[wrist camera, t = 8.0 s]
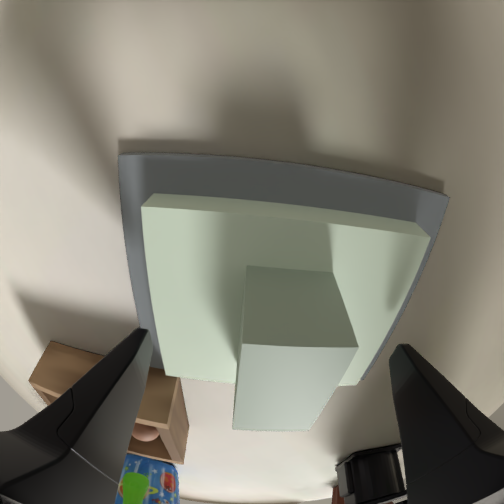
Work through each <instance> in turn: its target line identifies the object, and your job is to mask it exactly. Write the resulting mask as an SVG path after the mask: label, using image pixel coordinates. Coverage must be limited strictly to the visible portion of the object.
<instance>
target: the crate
mask: <svg viewBox="0 0 504 504" xmlns="http://www.w3.org/2000/svg"><path fill="white" fill-rule="evenodd" d="M103 357H105V356H102V355H98V354H94V353H90V352H87V351H83V350H79V349H76V348H72V347H69V346H66V345H62V344H59V343H56V342H53V341H50V343H49V345H48V346H47V348H46V350H45V352H44V353H43V355H42V357H41V358H40V360H39V362H38V364H37V366H36V367H35V369H34V371H33V373H32V375H31V377H30V378H29V380H28V381H29V382H30V384H31V385H32V386H33V388H34V389H35V390H36V391H37V393H38V394H39V395H40V396H41V398H42V399H43V400H44V401H45V403H46V404H47V405H48V406H49V405H50V404H51V403H53V402H54V401H55V400H56V399H57V398H59V397H60V396H61V395H62V394H63V393H64V392H65V391H67V390H68V389H69V388H70V387H71V388H72V385H73V384H74V383H75V382H77V381H78V380H79V379H80V378H81V377H82V376H83V375H84V374H86V373H87V372H88V371H89V370H90V369H91V368H92V367H93V366H94V365H96V364H97V363H98V362H99V361H100V360H101V359H102V358H103ZM188 430H189V423H188V418H187V413H186V408H185V403H184V397H183V392H182V386H181V381H180V377H174V376H168V375H166V373H165V369H159V368H154V367H150V366H149V371H148V376H147V382H146V387H145V391H144V394H143V398H142V401H141V404H140V407H139V411H138V414H137V418H136V421H135V425H134V428H133V432H132V435H131V439H130V442H129V446H128V450H127V452H128V453H131V454H135V455H139V456H143V457H148V458H152V459H156V460H161V461H166V462H171V463H177V464H184V457H185V450H186V443H187V437H188Z"/></svg>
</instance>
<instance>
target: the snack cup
mask: <svg viewBox="0 0 504 504" xmlns="http://www.w3.org/2000/svg"><path fill="white" fill-rule="evenodd" d="M118 485H119V486H118V490H117V495H116V499H115V504H180V500H179V481H178V472H177V470H176V469H175V468H174V467H173V466H172V465H169V464H167V463H164V462H162V461H158V460H156V459H152V458H148V457H143V456H139V455H135V454H126V457H125V461H124V465H123V469H122V473H121V477H120V481H119V484H118Z"/></svg>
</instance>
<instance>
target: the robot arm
mask: <svg viewBox="0 0 504 504" xmlns="http://www.w3.org/2000/svg"><path fill="white" fill-rule="evenodd" d="M152 351H153V344H152V339H151V335H150V331H149V330H148V329H144V328H137V329H135V330H134V331H133V332H132V333H131V334H130V335H128V336H127V337H126V338H125V339H124V340H123V341H122V342H120V343H119V344H118V345H117V346H116V347H115V348H114V349H113V350H111V351H110V352H109V353H108V354H107V355H106V356H105V357H103V358H102V359H101V360H100V361H99V362H98V363H97V364H96V365H94V366H93V367H92V368H91V369H90V370H89V371H88V372H87V373H86V374H84V375H83V376H82V377H81V378H80V379H79V380H78V381H77V382H75V383H74V384H73V385H72V388H71V387H70V388H69V389H68V390H67V391H65V392H64V393H63V394H62V395H61V396H60V397H59V398H57V399H56V400H55V401H54V402H53V403H51V404H50V405H49V406H47V407H46V408H45V409H43V410H42V411H40V412H39V413H38V414H36V415H35V416H33V417H32V418H31V419H29V420H28V421H27V422H25V423H24V424H22V425H21V426H19V427H17V428H15V429H13V430H9V431H2V432H0V504H115V499H116V495H117V490H118V486H119V485H118V484H119V481H120V477H121V473H122V469H123V465H124V461H125V457H126V454H127V450H128V446H129V442H130V439H131V435H132V432H133V428H134V425H135V421H136V418H137V414H138V411H139V407H140V404H141V401H142V398H143V394H144V391H145V387H146V382H147V376H148V371H149V366H150V361H151V356H152ZM389 367H390V375H391V384H392V393H393V400H394V405H395V410H396V415H397V421H398V427H399V433H400V439H401V444H399V445H395V446H390V447H385V448H380V449H375V450H369V451H363V452H357V453H354V454H352V455H351V456H350V457H349V458H347V459H346V460H345V461H344V462H342V463H341V464H340V465H339V466H337V467H336V468H335V471H337V476H338V485H339V494H340V497H344V501H345V504H385V503H388V502H391V501H394V500H397V499H400V498H403V497H406V496H407V500H404V501H401V502H398V503H396V504H504V431H503V430H502V429H501V428H500V427H498V426H497V425H496V424H495V423H493V422H492V421H491V420H490V419H489V418H488V417H486V416H485V415H484V414H483V413H482V412H481V411H479V410H478V409H477V408H476V407H475V406H474V405H473V404H472V403H471V402H470V401H469V400H468V399H467V398H465V396H464V395H463V394H462V393H461V392H459V391H458V390H457V389H456V388H455V387H454V386H453V385H452V384H451V383H450V382H449V381H448V380H447V379H446V378H445V377H444V376H443V375H442V374H441V373H439V372H438V371H437V370H436V369H435V368H434V367H433V366H432V365H431V364H430V363H429V362H428V361H427V360H426V359H424V358H423V357H422V356H421V355H420V354H419V353H418V352H417V351H416V350H415V349H414V348H412V347H411V346H410V345H409V344H399V345H398V346H397V347H396V349H395V351H394V352H393V354H392V355H391V357H390V359H389ZM401 449H402V452H403V459H404V467H405V476H406V484H407V485H406V487H407V490H405V487H404V482H403V477H402V472H401V468H400V463H399V459H398V455H397V452H398V451H399V450H401Z"/></svg>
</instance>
